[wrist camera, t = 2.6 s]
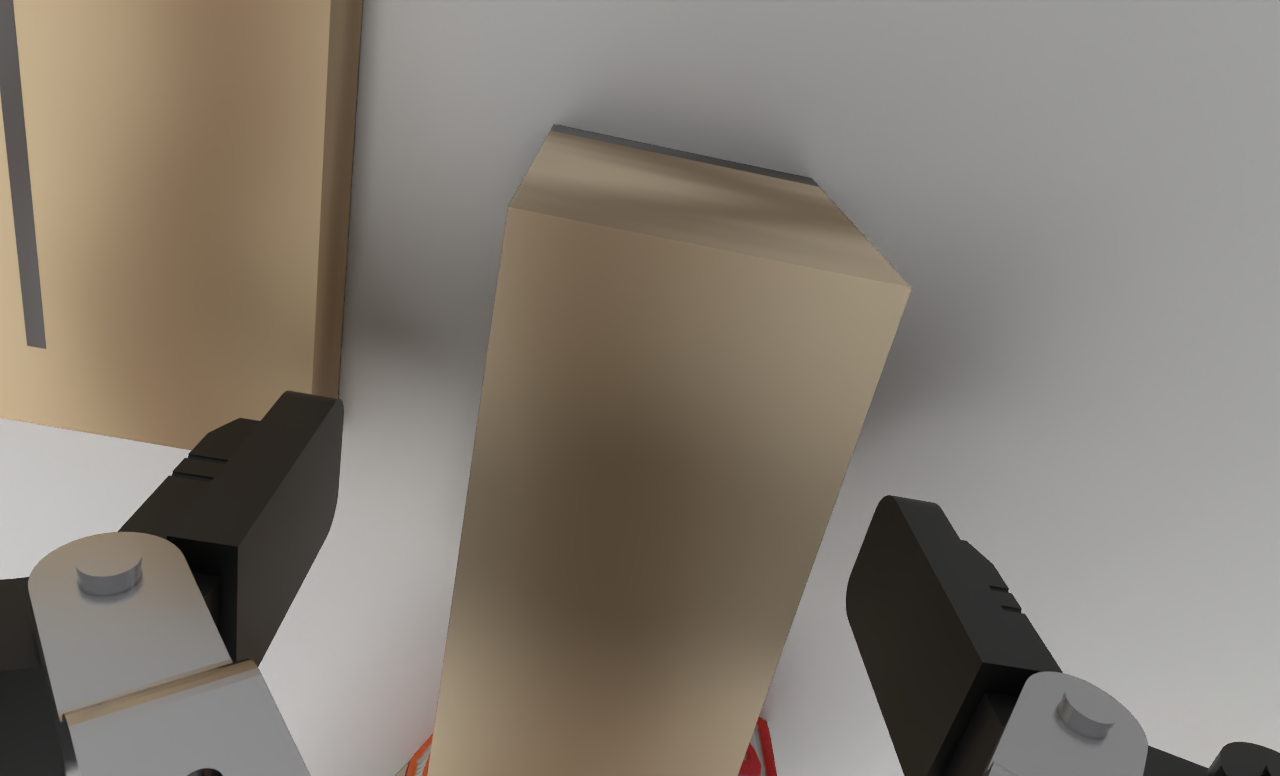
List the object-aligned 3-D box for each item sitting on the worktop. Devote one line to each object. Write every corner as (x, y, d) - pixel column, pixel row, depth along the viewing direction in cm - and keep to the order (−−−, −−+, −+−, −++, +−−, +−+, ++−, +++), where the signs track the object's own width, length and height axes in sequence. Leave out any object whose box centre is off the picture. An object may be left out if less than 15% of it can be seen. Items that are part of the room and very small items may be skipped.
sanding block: (810, 177, 15) (911, 287, 9) (692, 586, 19) (717, 833, 13) (554, 122, 14) (507, 206, 9) (486, 552, 18) (425, 793, 13)
